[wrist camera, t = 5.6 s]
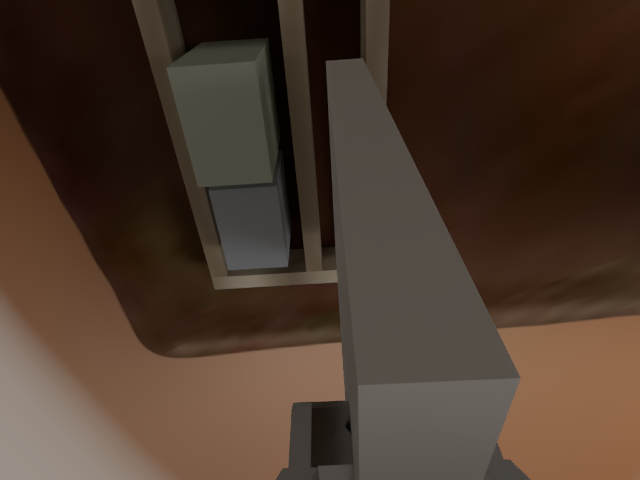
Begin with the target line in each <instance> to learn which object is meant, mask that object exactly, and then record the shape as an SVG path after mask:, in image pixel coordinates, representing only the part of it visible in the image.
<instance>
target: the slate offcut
mask: <svg viewBox="0 0 640 480" xmlns="http://www.w3.org/2000/svg"><path fill="white" fill-rule="evenodd" d="M208 191H209V195H210V199H211V203H212V207H213V211H214V215H215V219H216V223H217V227H218V231H219V235H220V239H221V243H222V247H223V251H224V255H225V259H226V263H227V267H228V270H243V269H259V268H276V267H288V261H289V248H290V235H291V216H290V207H289V199H288V191H287V183H286V175H285V166H284V158H283V150H278V154H277V160H276V166H275V171H274V177H273V182H272V183H257V184H242V185H226V186H211V187H210V188H209V190H208Z"/></svg>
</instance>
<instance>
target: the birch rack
mask: <svg viewBox="0 0 640 480" xmlns="http://www.w3.org/2000/svg"><path fill="white" fill-rule="evenodd" d="M132 3H133V7H134V10H135V14H136V17H137V21H138V24H139V28H140V31H141V34H142V38H143V41H144V45H145V48H146V52H147V55H148V59H149V62H150V66H151V69H152V73H153V76H154V80H155V83H156V87H157V90H158V94H159V97H160V101H161V104H162V107H163V111H164V114H165V118H166V121H167V125H168V128H169V132H170V135H171V139H172V142H173V146H174V149H175V153H176V156H177V160H178V163H179V167H180V170H181V173H182V177H183V180H184V184H185V187H186V191H187V194H188V198H189V201H190V205H191V208H192V212H193V215H194V219H195V222H196V226H197V229H198V233H199V236H200V240H201V243H202V246H203V250H204V253H205V257H206V260H207V264H208V267H209V271H210V274H211V278H212V281H213V285H214V288H215V289H232V288H249V287H266V286H282V285H299V284H316V283H333V282H338V281H337V266H336V250H335V247H321V233H320V220H319V207H318V193H317V180H316V166H315V153H314V140H313V126H312V113H311V100H310V86H309V73H308V59H307V46H306V33H305V19H304V6H303V0H278V9H279V18H280V28H281V37H282V46H283V56H284V65H285V75H286V84H287V93H288V103H289V112H290V122H291V131H292V140H293V150H294V159H295V169H296V178H297V187H298V197H299V206H300V216H301V225H302V234H303V244H304V249H289V261H288V267H276V268H259V269H243V270H228V267H227V263H226V259H225V255H224V251H223V247H222V243H221V239H220V235H219V231H218V227H217V223H216V219H215V215H214V211H213V207H212V203H211V199H210V195H209V191H208V190H209V188H210V187H198V185H197V181H196V178H195V174H194V170H193V166H192V163H191V159H190V155H189V151H188V148H187V144H186V140H185V136H184V133H183V129H182V125H181V122H180V118H179V114H178V110H177V107H176V103H175V99H174V95H173V92H172V88H171V84H170V80H169V77H168V73H167V69H166V67H168V66H169V65H171V64H172V63H173V62H175V61H176V60H178V59H179V58H180V57H182V56H183V55H185V54H186V53H187V52H186V48H185V44H184V39H183V35H182V31H181V26H180V22H179V18H178V14H177V9H176V5H175V1H174V0H132ZM389 13H390V0H360V58H363V60H364V62H365V64H366V66H367V68H368V70H369V72H370V74H371V76H372V78H373V80H374V82H375V84H376V86H377V88H378V90H379V92H380V94H381V96H382V98H383V100H384V102H385V104H387V73H388V43H389Z"/></svg>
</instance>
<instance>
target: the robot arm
mask: <svg viewBox="0 0 640 480" xmlns="http://www.w3.org/2000/svg"><path fill="white" fill-rule="evenodd" d="M276 480H354V460H353V447H352V435H351V424H350V407H349V401H330V402H329V401H328V402H299V403H293V406H292V414H291V433H290V450H289V468H284V469H282V471H281V472H280V474H279V476H278V477H277V479H276ZM483 480H530V479H529V478H528V477H527V476H526V475H525V474H524V473H523V472H522V471H521V470H520V469H519V468H518V467H517V466H516V465H515V464H514V463H513V462H512V461H511V460H504V459H503V456H502V454H501V452H500V449H499V446H498V443H496V446H495V449H494V452H493V454H492V457H491V460H490V462H489V465H488V468H487V471H486V473H485V476H484V479H483Z"/></svg>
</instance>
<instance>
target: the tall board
mask: <svg viewBox="0 0 640 480" xmlns="http://www.w3.org/2000/svg"><path fill="white" fill-rule="evenodd" d="M326 75H327V95H328V114H329V133H330V153H331V172H332V192H333V211H334V230H335V250H336V266H337V281H338V296H339V311H340V325H341V340H342V355H343V370H344V383H345V398H346V399H345V400H346V401H349V407H350V424H351V435H352V447H353V460H354V480H483V479H484V476H485V473H486V471H487V468H488V465H489V462H490V460H491V457H492V454H493V452H494V449H495V446H496V443H497V441H498V438H499V435H500V433H501V430H502V427H503V424H504V422H505V419H506V416H507V413H508V411H509V408H510V405H511V403H512V400H513V397H514V395H515V392H516V389H517V386H518V384H519V381H520V376H519V374H518V372H517V370H516V368H515V366H514V364H513V362H512V360H511V358H510V355H509V354H508V351H507V349H506V347H505V346H504V343H503V341H502V339H501V338H500V335H499V333H498V331H497V329H496V327H495V325H494V323H493V321H492V319H491V317H490V315H489V313H488V311H487V309H486V307H485V305H484V303H483V301H482V299H481V297H480V295H479V293H478V291H477V289H476V287H475V284H474V282H473V280H472V278H471V276H470V274H469V272H468V270H467V268H466V266H465V264H464V262H463V260H462V258H461V256H460V254H459V252H458V250H457V248H456V246H455V244H454V242H453V240H452V238H451V236H450V234H449V232H448V230H447V228H446V226H445V224H444V222H443V220H442V218H441V216H440V214H439V212H438V210H437V207H436V205H435V203H434V201H433V199H432V197H431V195H430V193H429V191H428V189H427V187H426V185H425V183H424V181H423V179H422V177H421V175H420V173H419V171H418V169H417V167H416V165H415V163H414V161H413V159H412V157H411V155H410V153H409V151H408V149H407V147H406V145H405V143H404V141H403V139H402V137H401V135H400V133H399V130H398V128H397V126H396V124H395V122H394V120H393V118H392V116H391V114H390V112H389V110H388V108H387V106H386V104H385V102H384V100H383V98H382V96H381V94H380V92H379V90H378V88H377V86H376V84H375V82H374V80H373V78H372V76H371V74H370V72H369V70H368V68H367V66H366V64H365V62H364V60H363V58H360V59H346V60H331V61H326Z"/></svg>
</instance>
